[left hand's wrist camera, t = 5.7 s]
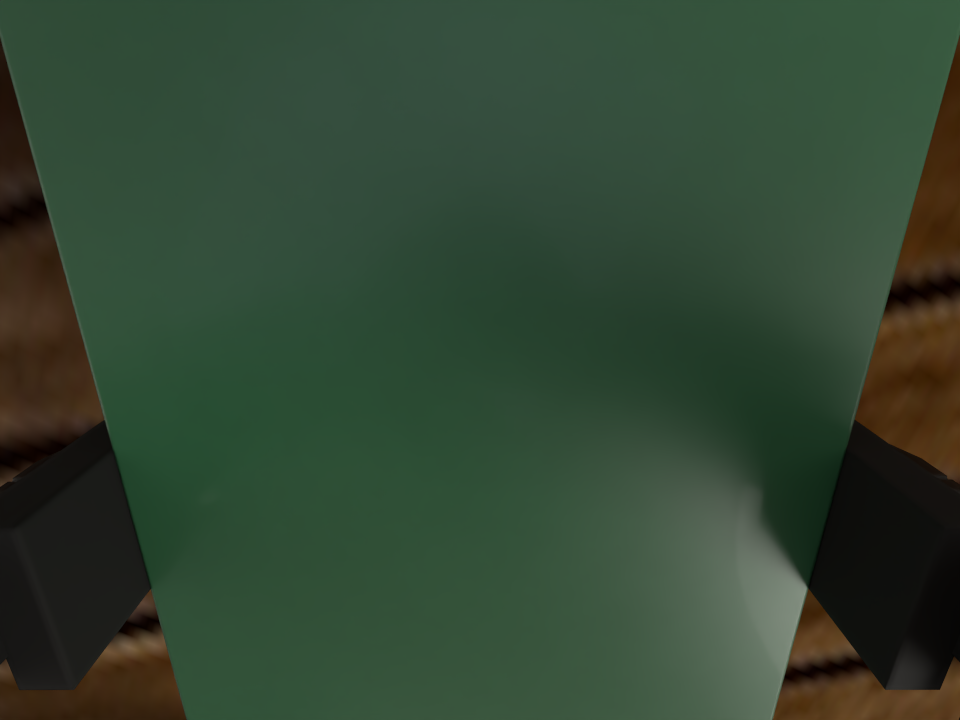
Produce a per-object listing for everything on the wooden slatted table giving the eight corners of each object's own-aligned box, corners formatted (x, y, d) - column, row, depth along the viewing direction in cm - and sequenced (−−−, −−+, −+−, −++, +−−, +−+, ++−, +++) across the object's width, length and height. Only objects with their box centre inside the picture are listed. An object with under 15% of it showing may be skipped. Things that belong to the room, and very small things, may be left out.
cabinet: (245, -323, 13) (-558, -1962, 3) (714, -322, 13) (1513, -1954, 3) (330, 450, 20) (187, 734, 10) (627, 450, 20) (771, 733, 10)
